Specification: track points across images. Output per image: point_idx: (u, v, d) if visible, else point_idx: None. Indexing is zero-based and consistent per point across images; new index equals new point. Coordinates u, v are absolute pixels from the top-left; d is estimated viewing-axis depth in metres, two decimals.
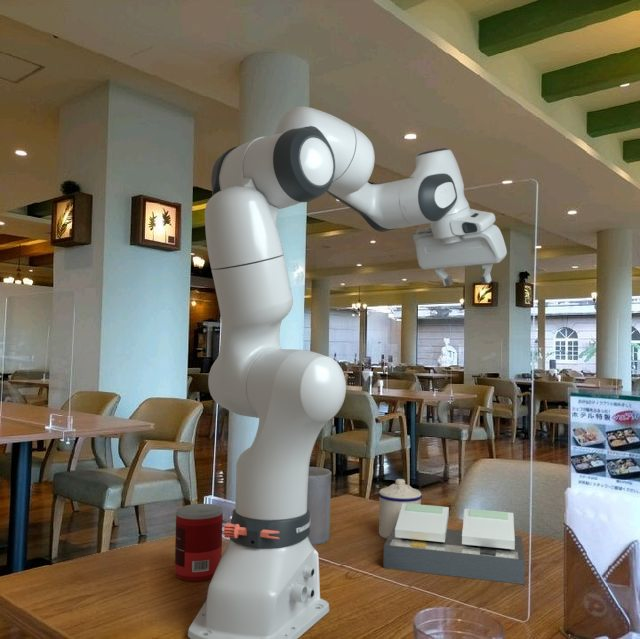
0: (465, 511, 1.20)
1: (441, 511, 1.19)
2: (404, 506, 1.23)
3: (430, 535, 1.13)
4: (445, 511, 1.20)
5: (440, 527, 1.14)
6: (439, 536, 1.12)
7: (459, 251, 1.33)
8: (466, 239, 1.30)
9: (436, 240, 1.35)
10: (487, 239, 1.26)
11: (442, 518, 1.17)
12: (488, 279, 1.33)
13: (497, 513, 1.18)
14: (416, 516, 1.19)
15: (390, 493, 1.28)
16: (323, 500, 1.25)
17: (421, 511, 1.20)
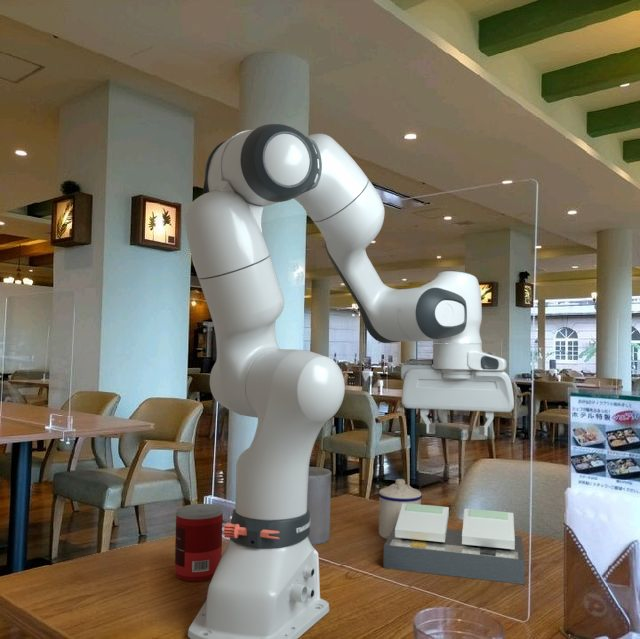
0: (465, 511, 1.20)
1: (441, 511, 1.19)
2: (404, 506, 1.23)
3: (430, 535, 1.13)
4: (445, 511, 1.20)
5: (440, 527, 1.14)
6: (439, 536, 1.12)
7: (462, 391, 1.13)
8: (477, 378, 1.12)
9: (436, 373, 1.14)
10: (506, 381, 1.10)
11: (442, 518, 1.17)
12: (487, 432, 1.13)
13: (497, 513, 1.18)
14: (416, 516, 1.19)
15: (390, 493, 1.28)
16: (323, 500, 1.25)
17: (421, 511, 1.20)
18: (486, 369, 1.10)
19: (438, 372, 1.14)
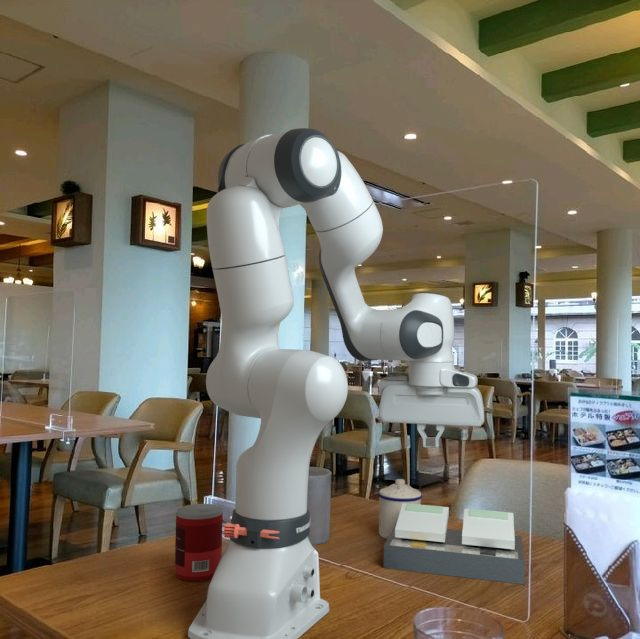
0: (465, 511, 1.20)
1: (441, 511, 1.19)
2: (404, 506, 1.23)
3: (430, 535, 1.13)
4: (445, 511, 1.20)
5: (440, 527, 1.14)
6: (439, 536, 1.12)
7: (436, 407, 1.20)
8: (450, 394, 1.19)
9: (411, 390, 1.21)
10: (476, 397, 1.17)
11: (442, 518, 1.17)
12: (438, 444, 1.21)
13: (497, 513, 1.18)
14: (416, 516, 1.19)
15: (390, 493, 1.28)
16: (323, 500, 1.25)
17: (421, 511, 1.20)
18: (457, 386, 1.17)
19: (413, 388, 1.21)
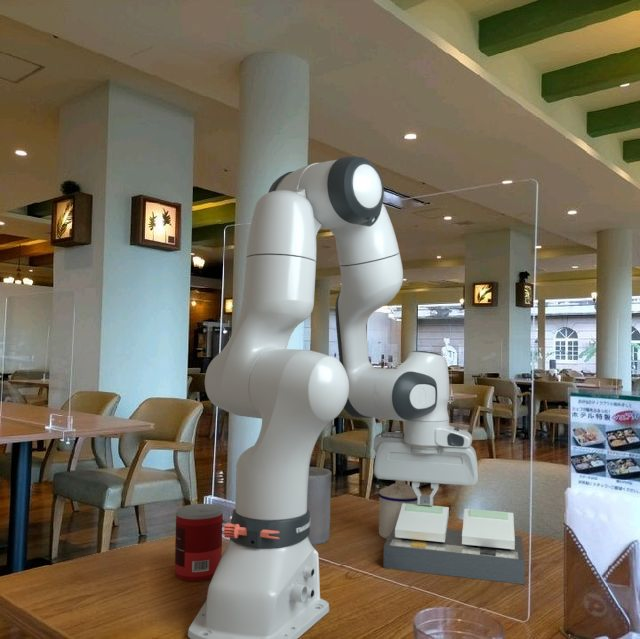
0: (465, 511, 1.20)
1: (441, 511, 1.19)
2: (404, 506, 1.23)
3: (430, 535, 1.13)
4: (445, 511, 1.20)
5: (440, 527, 1.14)
6: (439, 536, 1.12)
7: (430, 465, 1.20)
8: (444, 453, 1.19)
9: (406, 447, 1.22)
10: (471, 457, 1.18)
11: (442, 518, 1.17)
12: (432, 502, 1.21)
13: (497, 513, 1.18)
14: (416, 516, 1.19)
15: (390, 493, 1.28)
16: (323, 500, 1.25)
17: (421, 511, 1.20)
18: (452, 446, 1.18)
19: (408, 446, 1.22)
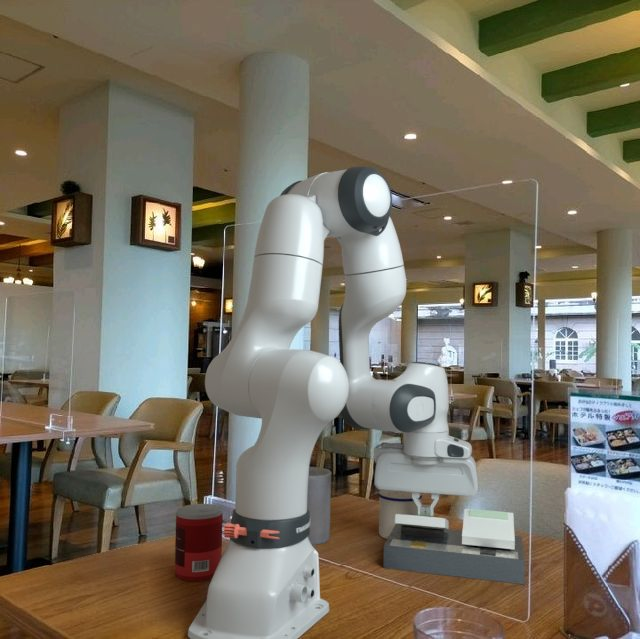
0: (465, 511, 1.20)
1: None
2: None
3: (430, 520, 1.13)
4: None
5: None
6: (440, 521, 1.13)
7: (431, 476, 1.21)
8: (444, 464, 1.20)
9: (406, 458, 1.22)
10: (471, 468, 1.18)
11: None
12: (433, 512, 1.22)
13: (497, 513, 1.18)
14: None
15: (390, 493, 1.28)
16: (323, 500, 1.25)
17: None
18: (452, 457, 1.18)
19: (408, 457, 1.22)
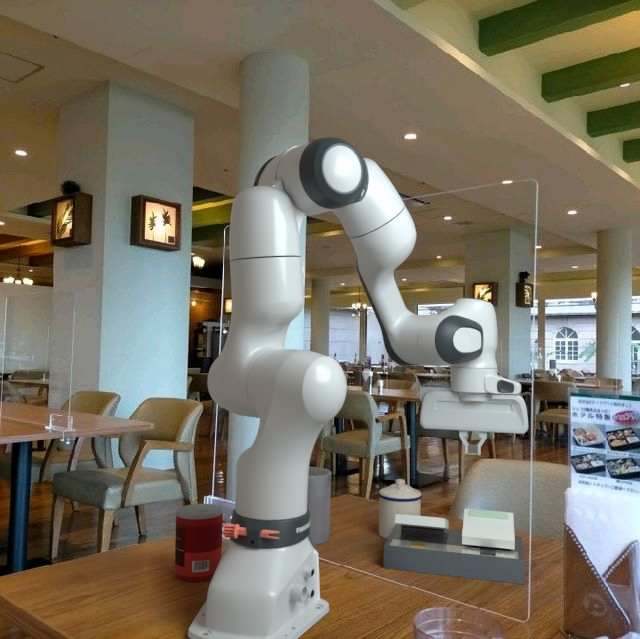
0: (465, 511, 1.20)
1: None
2: None
3: (430, 520, 1.13)
4: None
5: None
6: (440, 521, 1.13)
7: (479, 413, 1.18)
8: (493, 401, 1.17)
9: (453, 396, 1.20)
10: (521, 404, 1.16)
11: None
12: (480, 451, 1.19)
13: (497, 513, 1.18)
14: None
15: (390, 493, 1.28)
16: (323, 500, 1.25)
17: None
18: (502, 392, 1.16)
19: (455, 394, 1.20)
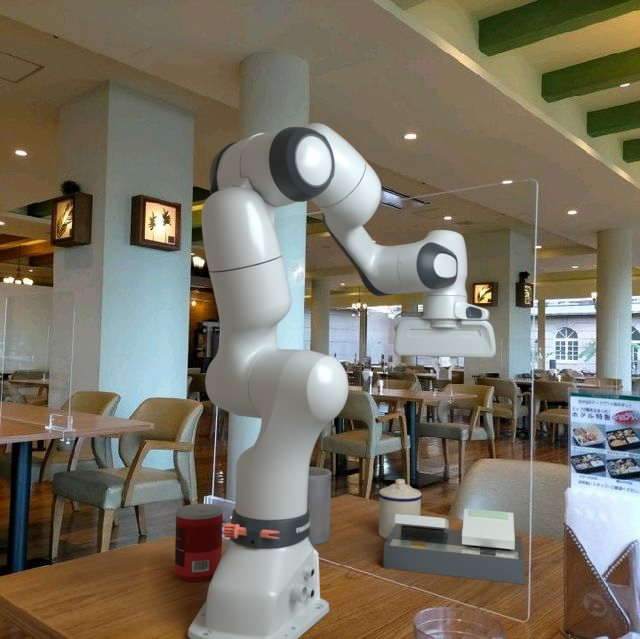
0: (465, 511, 1.20)
1: None
2: None
3: (430, 520, 1.13)
4: None
5: None
6: (440, 521, 1.13)
7: (449, 339, 1.24)
8: (463, 327, 1.23)
9: (425, 323, 1.26)
10: (488, 329, 1.22)
11: None
12: (451, 376, 1.25)
13: (497, 513, 1.18)
14: None
15: (390, 493, 1.28)
16: (323, 500, 1.25)
17: None
18: (471, 318, 1.22)
19: (427, 322, 1.26)
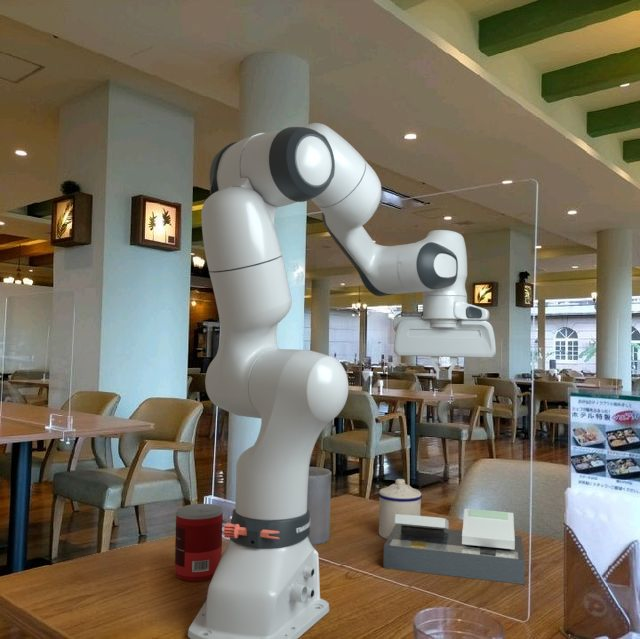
0: (465, 511, 1.20)
1: None
2: None
3: (430, 520, 1.13)
4: None
5: None
6: (440, 521, 1.13)
7: (449, 339, 1.24)
8: (463, 327, 1.23)
9: (425, 323, 1.26)
10: (488, 329, 1.22)
11: None
12: (451, 376, 1.25)
13: (497, 513, 1.18)
14: None
15: (390, 493, 1.28)
16: (323, 500, 1.25)
17: None
18: (471, 318, 1.22)
19: (427, 322, 1.26)
